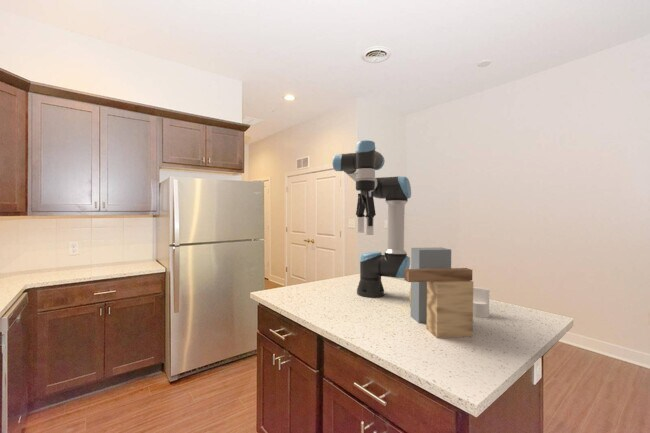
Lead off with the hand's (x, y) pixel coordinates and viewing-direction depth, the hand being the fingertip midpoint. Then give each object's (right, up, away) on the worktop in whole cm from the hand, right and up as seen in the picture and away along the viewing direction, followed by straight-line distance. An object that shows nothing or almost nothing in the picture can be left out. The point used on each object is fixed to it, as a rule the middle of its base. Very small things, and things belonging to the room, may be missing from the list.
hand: (364, 233), depth 121 cm
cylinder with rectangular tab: (+52, -37, +15) cm, 66 cm away
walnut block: (+27, -17, -7) cm, 32 cm away
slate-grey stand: (+29, -37, +8) cm, 48 cm away
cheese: (+29, -37, +21) cm, 51 cm away
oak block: (+31, -37, -7) cm, 49 cm away
